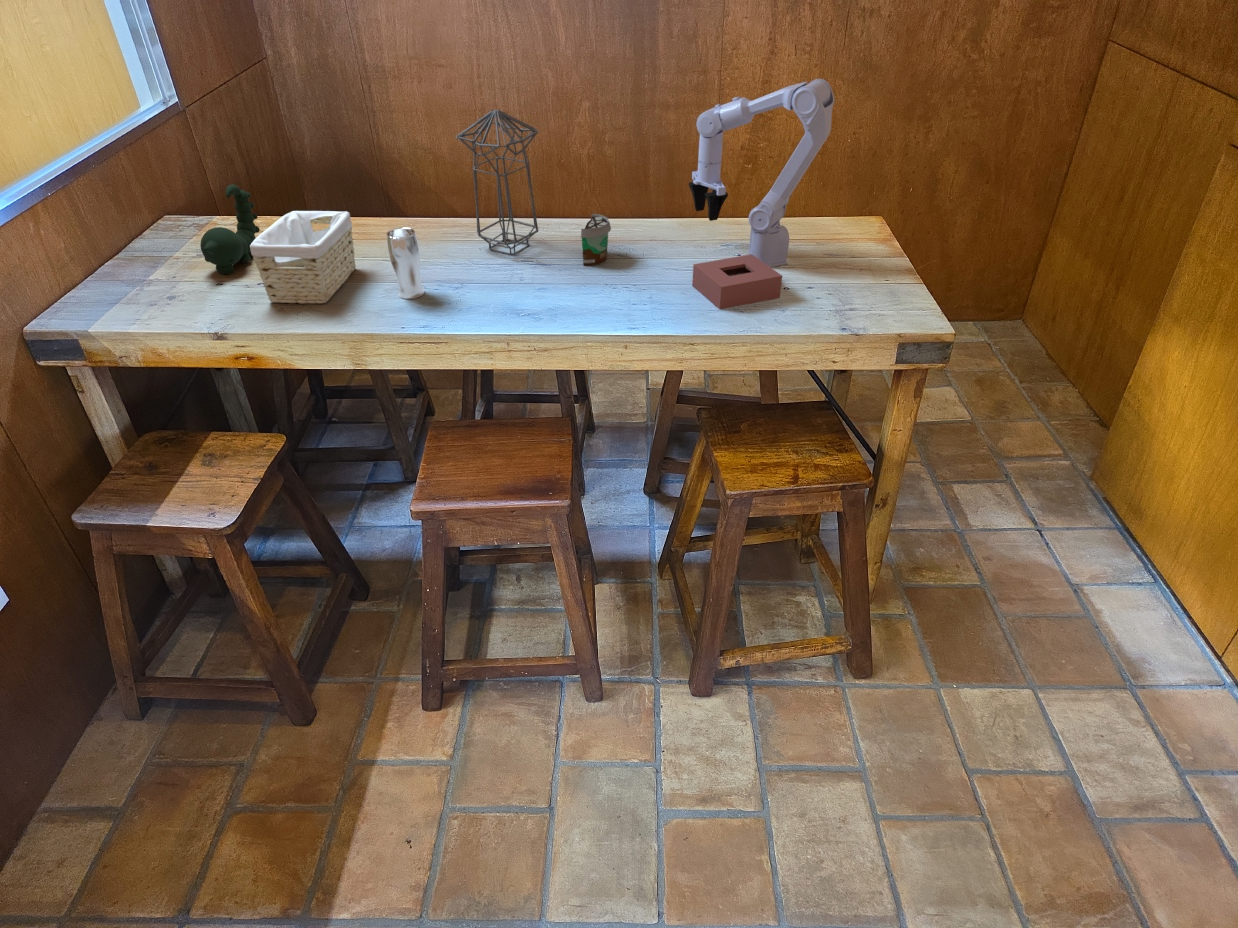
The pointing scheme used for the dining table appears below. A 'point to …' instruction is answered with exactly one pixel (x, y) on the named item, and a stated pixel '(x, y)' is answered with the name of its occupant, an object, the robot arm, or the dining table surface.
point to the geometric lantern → (487, 123)
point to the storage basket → (305, 256)
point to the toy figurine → (231, 236)
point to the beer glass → (405, 261)
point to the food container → (595, 240)
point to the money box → (736, 281)
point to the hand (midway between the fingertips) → (706, 215)
